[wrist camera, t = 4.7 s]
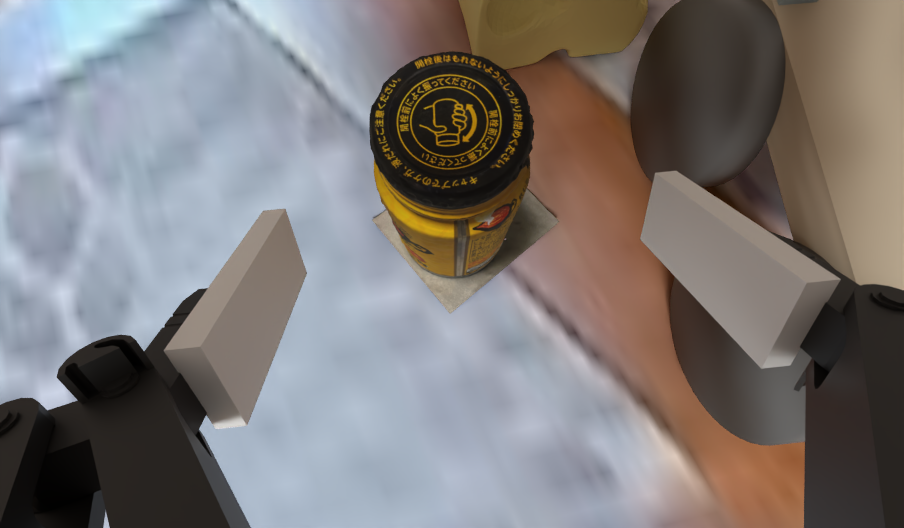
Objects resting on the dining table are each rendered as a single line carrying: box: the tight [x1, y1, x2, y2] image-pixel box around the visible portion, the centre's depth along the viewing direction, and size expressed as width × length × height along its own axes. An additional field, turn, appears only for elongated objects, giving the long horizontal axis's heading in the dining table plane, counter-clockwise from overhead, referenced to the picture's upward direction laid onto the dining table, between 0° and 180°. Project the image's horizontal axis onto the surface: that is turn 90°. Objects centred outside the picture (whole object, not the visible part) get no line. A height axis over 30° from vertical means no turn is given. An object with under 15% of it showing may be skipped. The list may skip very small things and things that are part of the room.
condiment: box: [370, 52, 559, 313], centre depth 18 cm, size 7×8×12 cm
